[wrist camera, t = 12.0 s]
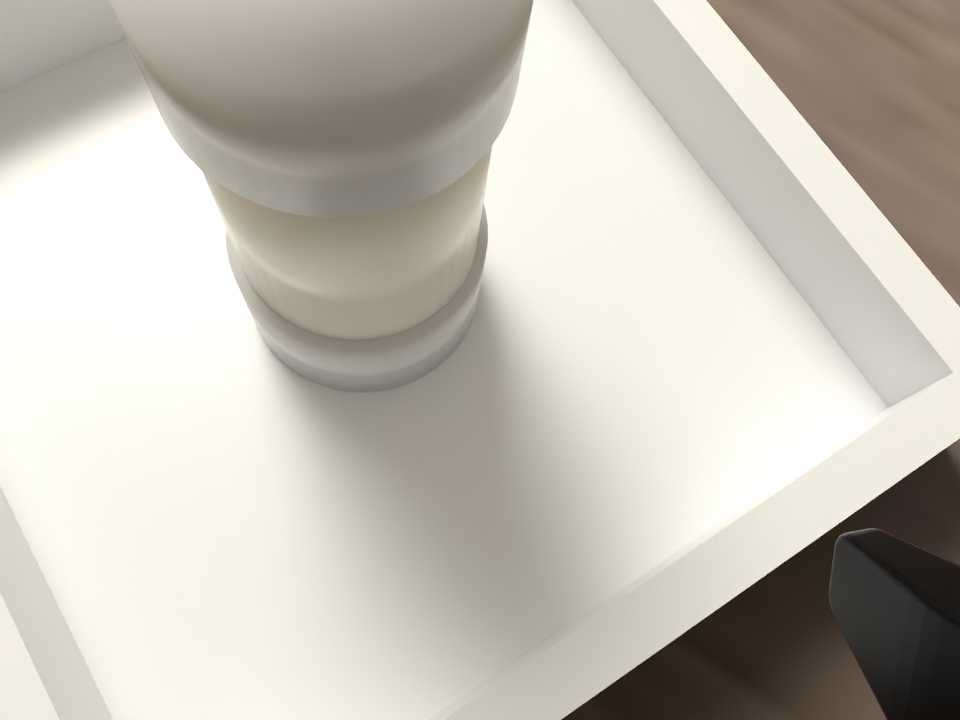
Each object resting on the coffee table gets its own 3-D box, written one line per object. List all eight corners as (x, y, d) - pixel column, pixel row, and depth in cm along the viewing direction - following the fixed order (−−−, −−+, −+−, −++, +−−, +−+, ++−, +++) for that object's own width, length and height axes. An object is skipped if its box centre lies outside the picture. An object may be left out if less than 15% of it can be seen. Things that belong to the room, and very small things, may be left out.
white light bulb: (498, 208, 20) (579, -211, 10) (452, 415, 18) (498, 143, 9) (284, 162, 20) (168, -303, 10) (219, 364, 18) (12, 36, 9)
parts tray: (938, 430, 19) (1027, 389, 17) (172, 963, 15) (117, 1032, 12) (491, -138, 24) (502, -246, 21) (-204, 160, 19) (-309, 73, 17)
